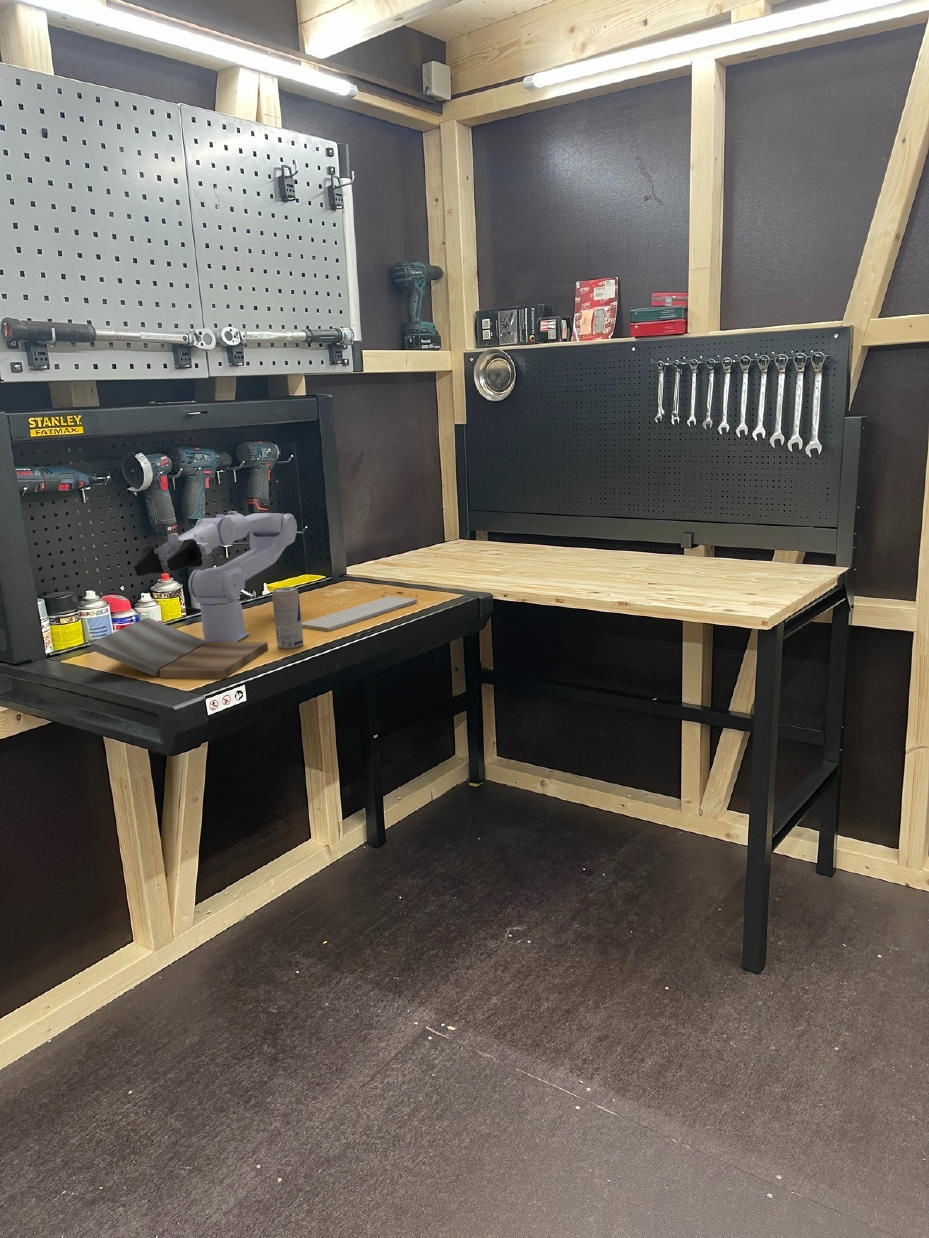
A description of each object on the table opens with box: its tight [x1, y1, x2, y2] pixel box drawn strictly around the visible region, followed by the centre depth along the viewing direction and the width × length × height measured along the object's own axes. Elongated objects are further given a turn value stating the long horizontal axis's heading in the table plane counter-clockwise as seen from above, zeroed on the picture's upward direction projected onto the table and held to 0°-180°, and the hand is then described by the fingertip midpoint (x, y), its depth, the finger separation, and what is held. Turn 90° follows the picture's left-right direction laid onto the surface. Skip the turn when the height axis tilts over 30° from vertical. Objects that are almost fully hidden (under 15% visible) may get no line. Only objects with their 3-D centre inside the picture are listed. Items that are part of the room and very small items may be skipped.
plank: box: [89, 617, 207, 677], centre depth 184 cm, size 20×14×2 cm
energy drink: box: [271, 586, 304, 650], centre depth 190 cm, size 5×5×12 cm
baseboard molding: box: [301, 591, 418, 633], centre depth 217 cm, size 31×3×12 cm
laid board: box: [159, 641, 269, 680], centre depth 181 cm, size 20×13×2 cm, turn 168°
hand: (153, 568), depth 175 cm, fingers open, 7 cm apart
